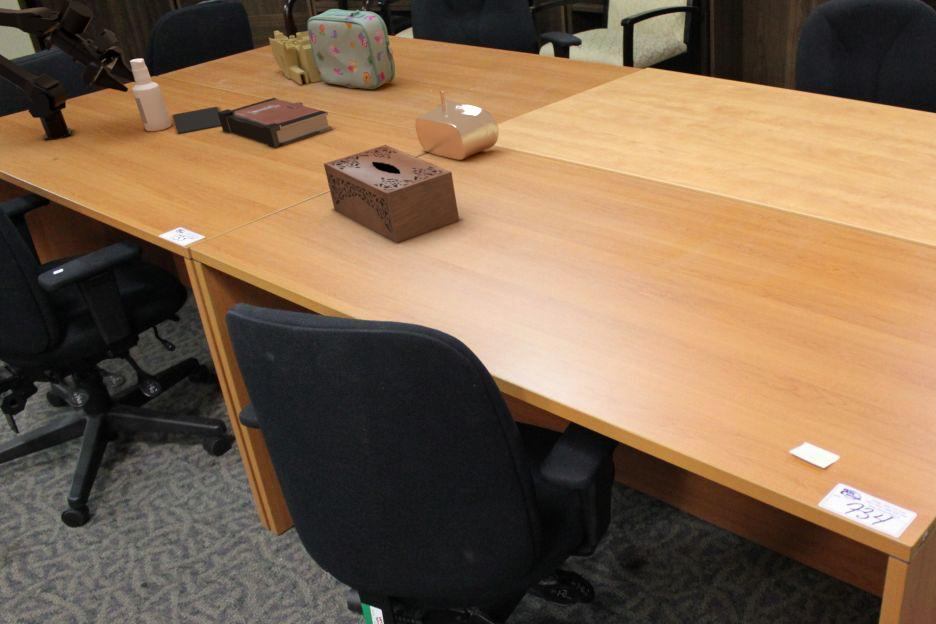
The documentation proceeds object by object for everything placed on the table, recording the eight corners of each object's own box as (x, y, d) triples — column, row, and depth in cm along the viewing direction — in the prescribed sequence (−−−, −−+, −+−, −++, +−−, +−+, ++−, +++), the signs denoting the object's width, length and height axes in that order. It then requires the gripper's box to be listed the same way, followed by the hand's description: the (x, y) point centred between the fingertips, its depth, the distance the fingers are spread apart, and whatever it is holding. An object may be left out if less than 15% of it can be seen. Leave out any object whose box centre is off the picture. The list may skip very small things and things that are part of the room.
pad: (173, 115, 274) (172, 114, 273) (216, 107, 277) (216, 106, 277) (178, 134, 258) (178, 132, 258) (224, 125, 262) (224, 124, 262)
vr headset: (502, 149, 228) (494, 88, 220) (466, 164, 221) (457, 101, 213) (451, 137, 239) (442, 78, 231) (415, 151, 232) (405, 90, 224)
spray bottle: (162, 122, 268) (140, 55, 259) (176, 125, 265) (155, 57, 255) (140, 129, 264) (117, 62, 254) (155, 132, 260) (132, 64, 251)
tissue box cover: (334, 209, 203) (323, 163, 198) (394, 189, 211) (385, 144, 205) (396, 242, 186) (386, 193, 181) (459, 220, 194) (451, 172, 188)
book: (333, 128, 252) (329, 109, 249) (275, 148, 242) (269, 128, 239) (280, 113, 268) (275, 95, 265) (222, 131, 257) (217, 112, 255)
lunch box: (405, 83, 285) (391, 6, 273) (381, 93, 278) (366, 14, 266) (340, 76, 298) (324, 2, 286) (315, 85, 291) (298, 10, 279)
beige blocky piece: (353, 24, 293) (287, 29, 284) (361, 78, 299) (297, 85, 290) (328, 25, 312) (266, 31, 303) (337, 76, 318) (276, 83, 309)
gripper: (76, 30, 241) (136, 70, 247) (103, 14, 257) (158, 53, 263) (56, 65, 245) (115, 104, 251) (84, 48, 261) (138, 85, 267)
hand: (133, 85), depth 258 cm, fingers open, 9 cm apart
